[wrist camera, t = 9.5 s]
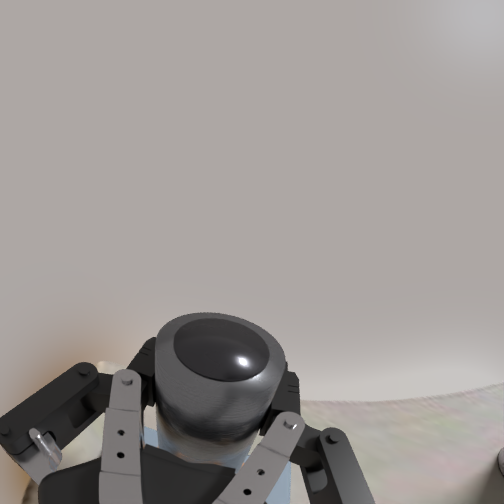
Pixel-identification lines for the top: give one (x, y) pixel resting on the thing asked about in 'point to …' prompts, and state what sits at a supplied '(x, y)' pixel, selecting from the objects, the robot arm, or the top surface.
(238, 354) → the grey capped cylinder
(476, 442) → the top surface
